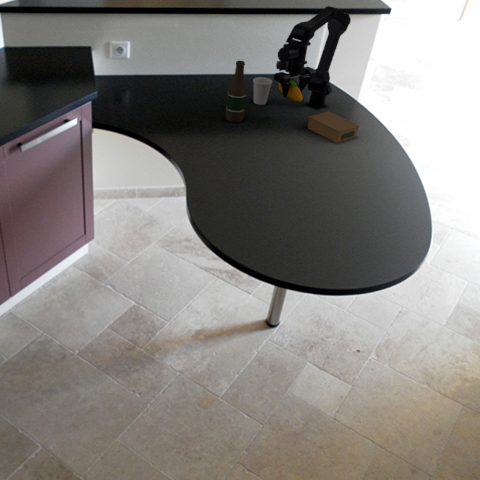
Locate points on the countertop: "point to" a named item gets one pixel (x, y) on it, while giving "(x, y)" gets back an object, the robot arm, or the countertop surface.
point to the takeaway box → (333, 126)
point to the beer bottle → (236, 95)
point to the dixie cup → (261, 90)
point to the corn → (293, 91)
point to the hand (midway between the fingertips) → (291, 95)
